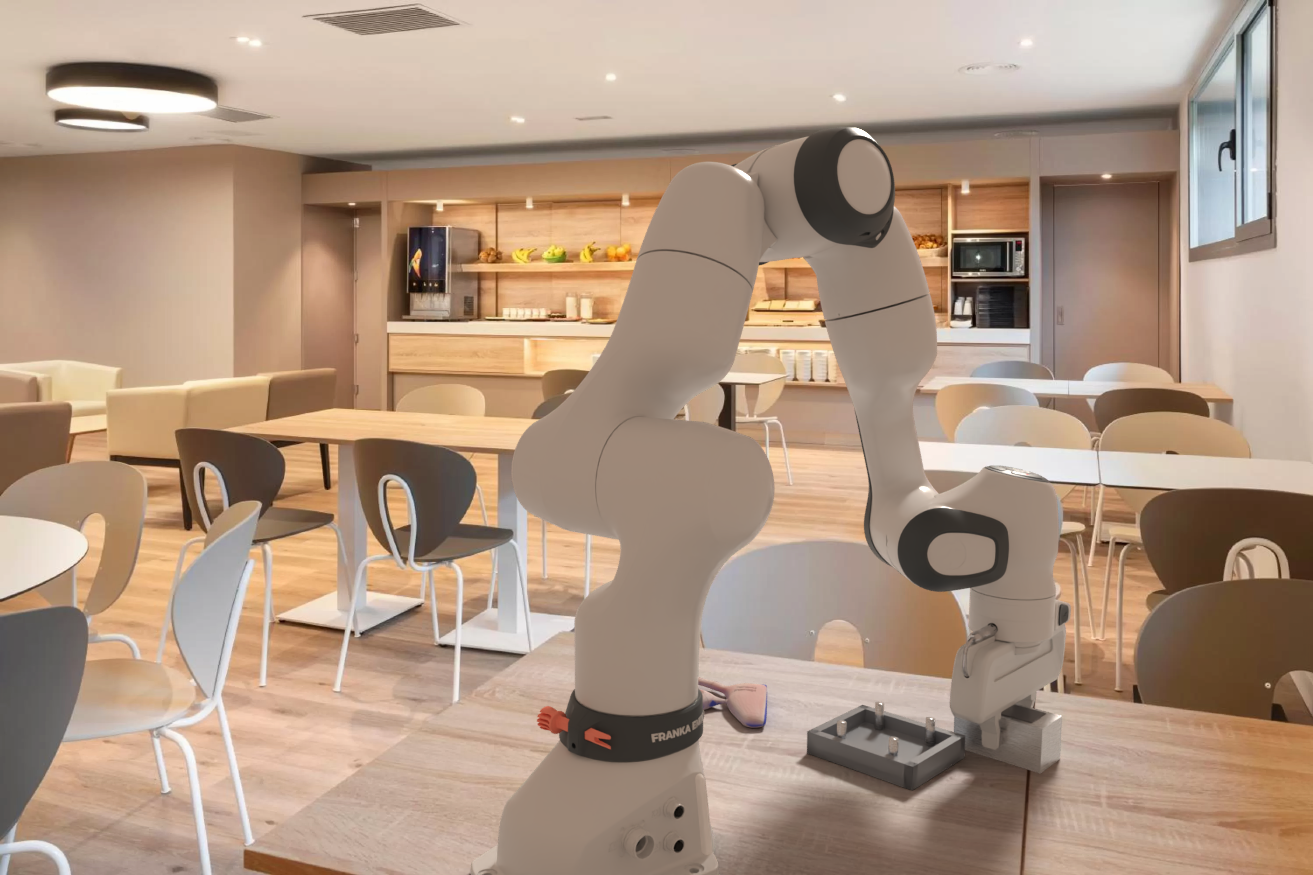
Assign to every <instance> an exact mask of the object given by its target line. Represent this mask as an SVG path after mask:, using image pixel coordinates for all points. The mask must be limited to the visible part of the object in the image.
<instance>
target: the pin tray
mask: <svg viewBox="0 0 1313 875" xmlns="http://www.w3.org/2000/svg"><path fill="white" fill-rule="evenodd" d="M806 733H807V734H806V754H808V755H811V756H814V757H816V758H818V759H822V760H825V761H828V762H830V763H834V764H837V765H839V766H842V767H845V768H848V769H850V770H853V771H856V772H858V773H862V774H865V775H867V776H869V777H873V778H876V779H878V780H880V781H881V780H882V781H885V782H887V783H890V784H893V785H896V786H899V787H901V788H904V789H907V790H909V791H914V790H915V789H917V788H919V787H920V786H921V785H923V784H925V783H927V782H928V781H930V780H931V779H933V778H934V777H936V776H938V775H939V774H941V773H943V772H944V771H946V770H947V769H949V768H951V767H952V766H954V765H956V764H957V763H958V762H960V761H962V760H963V759H964V758H966V755H965V753H966V750H965V735H962V734H959V733H955V732H954V731H951V730H949V729H945V728H943V727H939V726H936V718H935V717H933V716H926V717H925V722H922V721H918V720H915V719H913V718H912V719H911V718H909V717H905V716H902V715H898V714H895V713H892V712H889V711H886V710H885V703H884V702H882V701H876V702H875V703H874V707H872V706H868V705H865V704H861V705H858V706H856V707H855V708H853V709H851V710H849V711H847V712H845V713H842V714H841V715H838V716H836V717H834V718H832V719H829V720H828V721H825V722H824V723H822V724H820V725H817V726H816V727H813V728H811V729H809V730H807V731H806Z"/></svg>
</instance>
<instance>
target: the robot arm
mask: <svg viewBox="0 0 1313 875" xmlns="http://www.w3.org/2000/svg"><path fill="white" fill-rule="evenodd" d="M895 201H896V182H895V177H894V171H893V168H892V165H891V162H890V160H889V157H888V156H887V153H886V152H885V151H884V149H883V148H882V147H881V145H880V144H879V143H877V140H875V139H874V138H873V137H872V136H871V135H870V134H869V133H867V132H866V131H864V130H862V129H860V128H857V127H850V126H838V127H831V128H824V129H819V130H818V131H815V132H813V133H812V134H810V135H809V136H805V137H801V138H800V137H799V138H795V139H792V140H790V141H787V142H784V143H781V144H776V145H775V144H774V145H772V146H769V147H767V148H765V149H763V150H760V151H758V152H756V153H754V154H752V155H750V156H748V157H746V158H745V159H743V160H741V161H740V162H737V163H734V164H727V163H723V162H717V161H701V162H695V163H693V164H690V165H688V166H686V167H683V169H681V170H679V171H678V172H677V173H676V174H675V175H674V177H672V179H671V181H670V182H669V184H668V185H667V187H666V189H665V191H664V193H663V194H662V196H661V199H660V200H659V202H658V205H657V206H656V209H655V211H654V212H653V215H652V218H651V220H650V222H649V225H648V226H647V228H646V232H645V235H644V236H643V237H644V238H643V240H642V242H641V246H640V249H639V252H638V254H637V257H636V262H635V264H634V268H633V271H632V274H631V278H630V280H629V283H628V287H627V291H626V293H625V296H624V299H623V302H622V305H621V308H620V311H619V313H618V317H617V319H616V322H615V325H614V327H613V330H612V333H611V335H610V337H609V339H608V340H607V343H606V345H605V347H604V349H603V350H602V351H601V354H600V355H599V357H598V358H597V360H596V361H595V363H594V365H593V366H592V367H591V369H589V371H588V373H587V374H586V375H585V377H584V378H583V379H582V381H581V382H580V383H579V385H578V386H577V387H575V389H574V390H573V391H572V392H571V394H569V395H568V397H566V399H564V401H563V402H562V403H560V405H558V406H557V407H556V408H555V409H554V410H551V412H549V413H547V415H545V416H543V417H541V418H540V419H538V420H536V421H535V422H533V423H532V424H531V425H529V426H528V427H527V428H526V430H525V431H524V432H523V433H522V434H521V436H520V437H519V440H518V442H517V444H516V447H515V449H514V452H513V455H512V461H511V470H510V471H511V473H510V475H511V482H512V483H511V484H512V488H513V491H514V495H515V497H516V498H517V500H518V502H519V504H520V505H521V506H522V508H523V509H524V510H525V511H527V512H528V513H529V514H531V515H533V516H535V517H536V518H539V519H541V520H543V521H545V522H547V523H549V524H550V525H554V526H556V527H558V528H561V529H563V530H565V531H567V532H572V533H579V534H585V535H588V536H589V535H590V536H596V537H601V538H602V537H603V538H607V539H613V540H618V541H619V546H620V547H619V548H620V551H619V552H620V554H619V560H618V564H617V565H618V566H617V569H616V571H615V572H616V573H615V575H614V578H613V579H612V580H610V581H608V582H605V583H603V584H602V585H600V586H598V587H597V588H595V589H594V590H593V591H592V592H589V594H588V595H586V597H585V598H584V599H583V600H582V601H581V603H580V605H579V606H578V608H577V610H576V613H575V616H574V625H573V626H574V689H573V690H572V692H571V694H570V696H569V700H568V703H567V705H566V710H565V712H564V711H562V710H557V709H556V708H554V707H552V706H549V705H546V706H544V707H542V708H541V709H540V710H539V713H538V714H537V716H536V717H537V719H536V722H537V727H539V728H540V729H541V730H544V731H549V732H550V733H551V734H554V735H558V738H559V740H558V742H557V743H556V744H555V745H554V747H553V748H551V750H550V751H549V752H548V754H547V755H546V756H545V757H544V758H543V760H542V761H540V763H539V764H538V765H537V766H536V768H535V769H534V770H533V771H532V773H530V775H529V776H528V777H527V778H526V779H525V781H524V782H523V783H522V784H521V785H520V786H519V787H518V789H517V790H516V791H515V792H514V793H513V794H512V795H511V797H509V799H508V800H507V801H506V802H505V805H504V807H503V809H502V813H501V817H500V822H499V827H498V829H499V830H498V835H497V836H498V837H497V844H496V845H494V846H493V847H491V848H490V849H487V850H486V851H485V852H484V853H482V854H480V855H479V856H477V857H476V858H474V859H473V860H472V862H471V864H470V872H469V873H470V875H720V868H719V867H720V865H719V862H718V859H717V856H716V855H715V850H716V838H715V835H714V834H715V833H714V831H713V828H712V824H711V821H710V811H709V810H710V809H709V799H708V798H709V797H708V790H707V781H706V776H705V771H704V767H703V761H702V755H701V747H700V739H701V737H702V735H703V733H704V720H705V710H703V695H702V692H701V691H700V688H699V685H698V677H699V673H700V672H699V670H700V669H699V666H700V665H699V664H700V663H699V662H700V646H701V629H702V620H703V614H704V613H703V612H704V608H705V604H706V600H707V597H708V595H709V592H710V590H711V587H712V585H713V583H714V581H715V579H716V577H717V575H718V573H719V572H720V570H721V569H722V568H723V567H724V565H725V564H726V563H727V562H728V561H729V559H730V558H732V556H733V555H735V554H736V553H737V552H739V551H741V550H742V549H744V548H745V547H747V546H748V545H750V543H751V542H752V541H753V540H755V539H756V537H757V536H758V535H759V534H760V532H761V531H762V530H763V528H764V526H766V523H767V521H768V519H769V517H770V514H771V511H772V509H773V506H774V505H773V504H774V499H775V489H776V488H775V478H774V474H773V473H774V472H773V469H772V465H771V463H770V460H769V457H768V456H767V454H766V452H765V450H764V449H763V447H762V446H761V444H760V443H759V442H758V441H757V440H756V439H754V438H752V437H750V436H748V435H746V434H743V433H739V432H737V431H735V430H731V429H729V428H726V427H722V426H719V425H715V424H712V423H709V422H706V421H698V420H684V419H675V418H676V417H677V415H678V414H679V413H680V412H681V410H682V409H683V408H684V407H685V406H687V404H688V403H689V402H690V401H692V400H693V399H694V398H696V397H697V396H699V395H700V394H702V393H704V392H706V391H708V390H710V389H712V388H713V387H715V386H716V385H718V384H719V383H720V382H722V380H724V379H725V377H727V375H729V372H730V371H731V369H732V367H733V366H734V362H735V360H736V356H737V353H738V352H737V351H738V348H739V344H740V341H741V337H742V333H743V331H744V330H743V329H744V326H745V322H746V319H747V315H748V310H749V307H750V304H751V299H752V296H753V292H754V289H755V286H756V285H755V284H756V280H757V276H758V271H759V267H760V266H762V265H766V264H768V263H769V262H778V261H785V260H790V259H799V258H803V259H804V260H805V261H806V262H807V264H808V265H809V266H810V267H811V269H812V271H813V272H814V274H815V277H816V284H817V285H816V286H817V291H818V296H819V301H820V306H821V311H822V316H823V319H824V323H825V327H826V331H827V335H828V338H829V342H830V344H831V348H832V351H833V354H834V357H835V360H836V363H837V365H838V367H839V370H840V373H841V376H842V378H843V380H844V384H845V386H846V388H847V392H848V394H849V395H848V396H849V398H850V400H851V403H852V405H853V406H852V407H853V409H854V410H853V411H854V414H855V419H856V420H855V421H856V424H857V429H858V434H859V438H860V439H859V440H860V443H861V444H860V445H861V449H862V454H863V459H864V463H865V468H866V475H867V479H868V491H867V494H868V495H867V500H866V506H865V511H864V516H863V517H864V518H863V531H864V533H863V534H864V537H865V539H866V543H867V545H868V547H869V549H870V551H871V552H872V553H873V554H874V556H875V557H876V558H878V559H879V560H880V561H881V562H883V563H884V564H885V565H888V566H889V567H892V568H893V569H894V570H896V571H897V572H898V574H900V575H902V576H903V577H904V578H906V579H907V580H909V582H910V583H912V584H914V586H916V587H919V588H921V589H924V590H926V591H930V592H936V593H937V592H938V593H941V592H942V593H944V592H953V591H959V590H965V589H969V604H968V624H967V625H968V629H969V630H970V631H971V632H970V633H969V635H968V637H967V641H966V642H965V643H964V644H962V645H961V646H960V647H959V648H958V649H957V651H956V655H955V657H954V662H953V668H952V674H951V682H950V684H951V685H950V693H949V710H950V712H951V713H952V715H953V717H954V716H955V717H957V718H960V719H963V720H967V721H970V722H974V723H979V725H980V728H981V730H982V745H983V746H984V747H986V748H990V749H993V750H995V749H997V748H998V747H1000V746H1001V745H1002V744H1003V734H1004V731H1002V730H1000V728H999V722H998V720H1000V719H1001V712H1002V711H1004V710H1006V709H1007V708H1009V707H1011V706H1012V705H1014V704H1016V703H1017V704H1020V705H1024V706H1028V707H1031V708H1034V706H1035V703H1036V702H1035V701H1036V700H1037V692H1038V691H1040V690H1041V689H1043V688H1044V687H1046V686H1048V685H1049V684H1051V683H1053V682H1054V681H1057V680H1058V679H1059V677H1060V674H1061V671H1062V668H1063V664H1064V658H1065V649H1066V640H1067V627H1066V623H1068V622H1069V621H1070V620H1071V615H1072V605H1071V604H1070V603H1069V602H1067V601H1062V600H1059V599H1056V595H1057V588H1056V583H1055V579H1054V567H1055V562H1056V560H1057V557H1058V555H1059V539H1060V538H1059V534H1060V533H1059V530H1060V529H1059V523H1060V521H1059V506H1058V499H1057V498H1058V497H1057V493H1056V488H1055V486H1054V485H1053V483H1051V481H1049V480H1048V479H1047V478H1046V477H1044V476H1042V475H1041V474H1038V473H1036V472H1033V471H1027V470H1023V469H1021V468H1016V467H1012V466H1006V465H994V464H993V465H989V466H987V465H986V466H984V467H982V469H981V470H980V471H979V472H978V473H977V474H975V475H974V476H973V477H971V478H969V479H968V480H966V481H965V482H963V483H961V484H958V486H955V487H953V488H950V489H949V490H946V491H944V492H941V493H939V492H938V491H937V490H936V489H935V487H933V485H932V483H931V482H930V481H929V479H928V477H927V475H926V471H925V469H924V464H923V459H922V453H921V449H920V448H921V447H920V442H919V439H918V438H919V437H918V433H917V427H916V422H915V417H914V416H915V415H914V399H915V395H916V391H917V389H918V387H919V385H920V383H921V382H922V380H923V379H924V378H925V377H926V376H927V375H928V374H929V372H930V370H931V369H932V368H933V365H934V363H935V361H936V358H937V356H938V333H937V322H936V314H935V309H934V303H933V301H932V296H931V293H930V288H929V284H928V281H927V277H926V274H925V273H926V272H925V270H924V268H923V264H922V261H921V258H920V255H919V253H918V249H917V246H916V245H915V241H914V240H913V237H912V234H911V232H910V230H909V227H908V225H907V223H906V220H905V219H904V217H903V215H902V213H901V212H900V210H899V209H898V208H897V207H896V206H895Z"/></svg>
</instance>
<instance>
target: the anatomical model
mask: <svg viewBox="0 0 1313 875" xmlns="http://www.w3.org/2000/svg"><path fill="white" fill-rule="evenodd" d="M698 686H699V687H700V686H701V687H704V688H707V689H710V690H711V691H712V690H713V691H716V692H719V693H722V694H724V697H725V698H721V697H718V696H716V695H714V694H712V693H711V692H709V691H707V690H704V689H700V688H699V689H700V691H701V692H702V695H703V710H704V711H705V710H709V709H711V708H713V707H716V706H719V705H723V704H725V705H726V706H727V709H728V710H729V712H730V713H731V714H732V715H733V716H734V717H735V718H736V719H737V720H738V721H739V723H741V725H743V726H744V727H747V728H751V729H752V728H755V729H756V728H762V727H764V726H765V725H766V724H767V717H768V716H767V715H768V685H767V684H764V683H763V684H761V683H760V684H759V683H749V682H741V683H735V684H733V685H731V684H730V685H724V684H723V683H721V682H719V681H716V680H713V679H712V680H710V679H706V678H703V677H700V676H698Z"/></svg>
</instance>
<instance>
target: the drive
mask: <svg viewBox="0 0 1313 875" xmlns="http://www.w3.org/2000/svg"><path fill="white" fill-rule="evenodd" d="M953 717H954V718H953V732H955V733H959V734H962V735H965V751H967V752H970V753H974V754H977V755H980V756H983V757H987V758H989V759H993V760H996V761H1000V762H1001V763H1005V764H1008V765H1012V766H1016V767H1018V768H1021V769H1025V770H1028V771H1032V772H1033V773H1034V772H1035V773H1037V774H1042V773H1043V772H1044V771H1045V770H1047V769H1049V767H1052V766H1053V765H1054V764H1055V763H1057V762H1058V761H1059V760H1060V759H1061V750H1062V749H1061V747H1062V745H1061V744H1062V730H1063V729H1062V727H1063V715H1061V714H1057V713H1053V712H1049V711H1045V710H1042V709H1038V708H1034V707H1033V708H1031V707H1028V706H1024V705H1020V704H1017V703H1016V704H1014V705H1012V706H1011V707H1009V708H1007V709H1006V710H1004V711H1002V712H1001V719H1000V720H998V722H999V728H1000V730H1002V731H1004V734H1003V744H1002V745H1001V746H1000V747H998V748H997V749H995V750H993V749H990V748H986V747H984V746H983V745H982V730H981V728H980V725H979V723H974V722H970V721H967V720H963V719H960V718H957V717H955V716H954V715H953Z"/></svg>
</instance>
